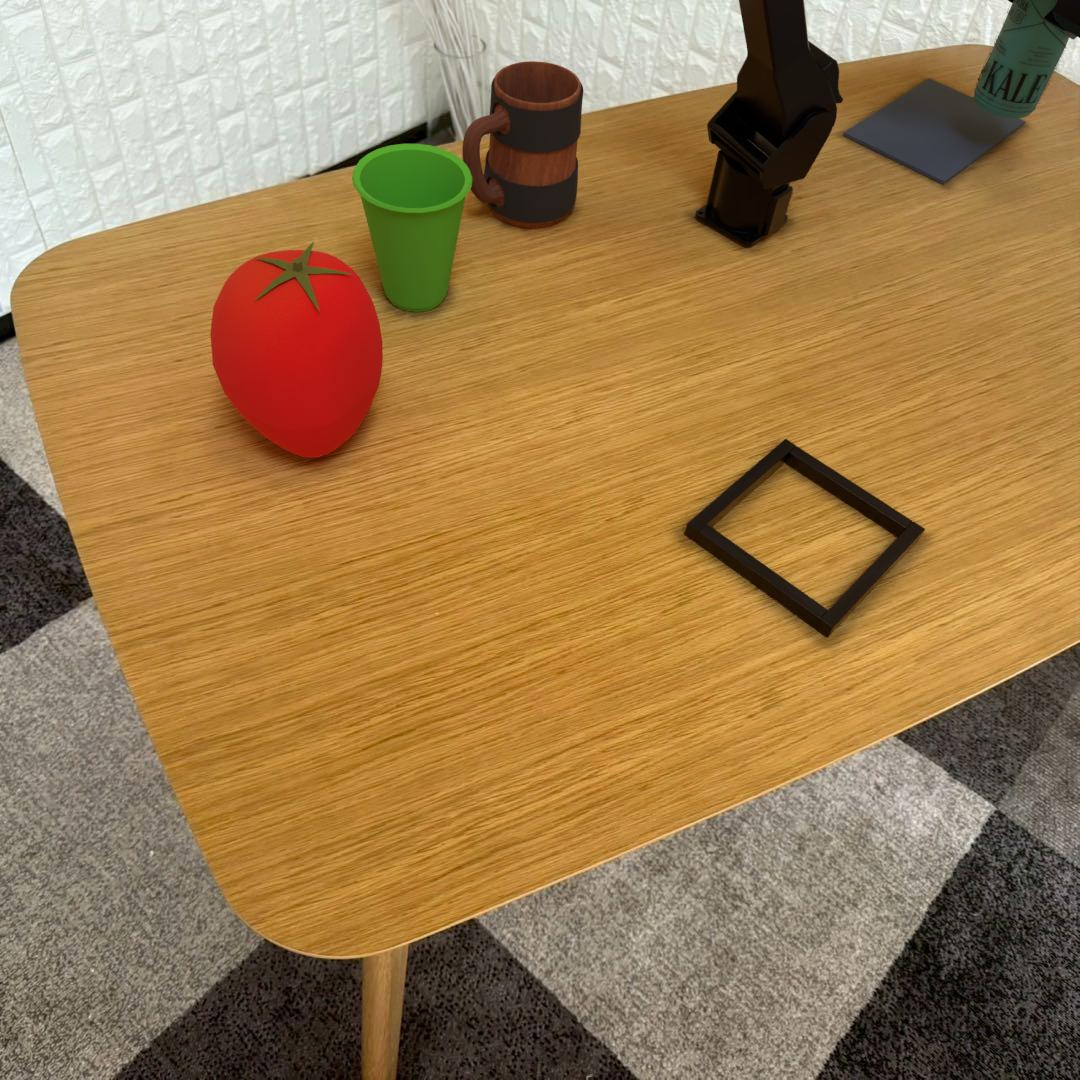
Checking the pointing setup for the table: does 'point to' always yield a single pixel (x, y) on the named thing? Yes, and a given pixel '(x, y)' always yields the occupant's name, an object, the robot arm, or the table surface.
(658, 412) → the table surface
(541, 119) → the mug
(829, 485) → the black square frame
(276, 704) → the table surface
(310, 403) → the tomato
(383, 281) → the cup
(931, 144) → the table mat
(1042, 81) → the beverage bottle
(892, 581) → the table surface
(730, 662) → the table surface
